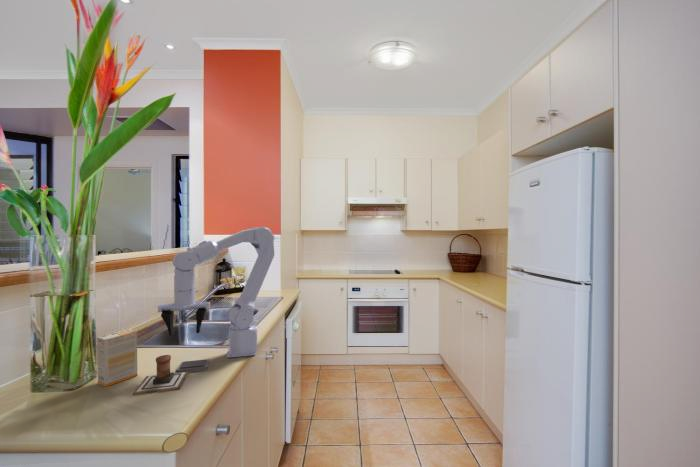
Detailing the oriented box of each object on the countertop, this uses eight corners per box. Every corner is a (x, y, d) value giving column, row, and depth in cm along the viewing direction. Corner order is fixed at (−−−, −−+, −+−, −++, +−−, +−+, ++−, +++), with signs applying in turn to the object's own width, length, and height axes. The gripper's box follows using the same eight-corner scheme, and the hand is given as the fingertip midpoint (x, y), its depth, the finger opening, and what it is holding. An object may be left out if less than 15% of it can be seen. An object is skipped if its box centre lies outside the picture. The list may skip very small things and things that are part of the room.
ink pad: (209, 362, 102) (209, 358, 102) (205, 370, 96) (205, 365, 96) (181, 365, 100) (181, 361, 100) (176, 373, 94) (176, 368, 94)
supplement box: (129, 372, 95) (129, 328, 95) (138, 375, 93) (137, 330, 93) (96, 383, 88) (96, 336, 88) (105, 387, 86) (104, 339, 86)
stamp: (173, 376, 91) (173, 354, 91) (169, 383, 87) (169, 359, 87) (157, 378, 90) (157, 355, 90) (152, 384, 86) (152, 361, 86)
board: (188, 373, 94) (188, 370, 94) (179, 389, 85) (179, 386, 85) (146, 377, 92) (146, 375, 92) (132, 395, 82) (132, 392, 82)
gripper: (154, 293, 95) (154, 339, 95) (207, 290, 98) (207, 335, 98) (161, 289, 102) (162, 332, 102) (211, 287, 105) (211, 328, 105)
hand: (184, 333), depth 101 cm, fingers open, 7 cm apart
